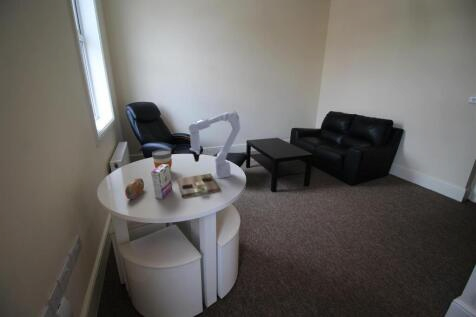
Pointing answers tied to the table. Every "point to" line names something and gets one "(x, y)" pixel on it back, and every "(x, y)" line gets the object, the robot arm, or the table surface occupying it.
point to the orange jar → (162, 158)
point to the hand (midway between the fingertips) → (196, 161)
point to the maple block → (200, 186)
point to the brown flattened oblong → (134, 188)
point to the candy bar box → (162, 181)
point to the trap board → (189, 185)
